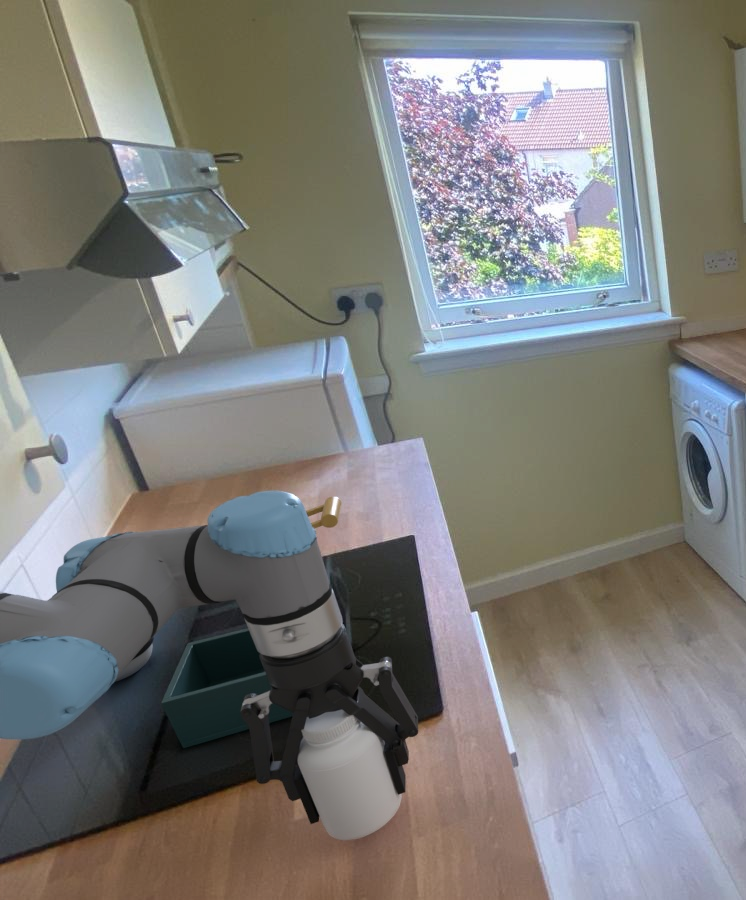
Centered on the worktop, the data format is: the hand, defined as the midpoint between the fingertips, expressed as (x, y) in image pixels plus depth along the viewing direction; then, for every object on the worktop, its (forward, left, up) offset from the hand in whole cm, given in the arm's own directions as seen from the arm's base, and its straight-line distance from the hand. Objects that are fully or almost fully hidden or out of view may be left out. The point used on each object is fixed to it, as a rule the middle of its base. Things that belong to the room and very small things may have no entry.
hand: (359, 798), depth 84 cm
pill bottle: (0, 0, -2) cm, 2 cm away
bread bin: (-14, +32, -4) cm, 35 cm away
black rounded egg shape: (-36, +49, -5) cm, 61 cm away
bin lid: (-7, +32, +13) cm, 35 cm away
